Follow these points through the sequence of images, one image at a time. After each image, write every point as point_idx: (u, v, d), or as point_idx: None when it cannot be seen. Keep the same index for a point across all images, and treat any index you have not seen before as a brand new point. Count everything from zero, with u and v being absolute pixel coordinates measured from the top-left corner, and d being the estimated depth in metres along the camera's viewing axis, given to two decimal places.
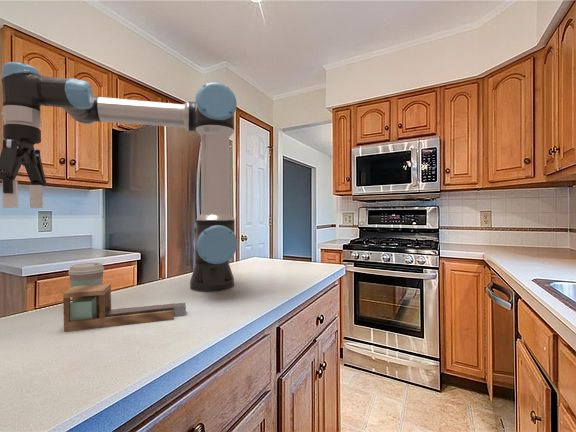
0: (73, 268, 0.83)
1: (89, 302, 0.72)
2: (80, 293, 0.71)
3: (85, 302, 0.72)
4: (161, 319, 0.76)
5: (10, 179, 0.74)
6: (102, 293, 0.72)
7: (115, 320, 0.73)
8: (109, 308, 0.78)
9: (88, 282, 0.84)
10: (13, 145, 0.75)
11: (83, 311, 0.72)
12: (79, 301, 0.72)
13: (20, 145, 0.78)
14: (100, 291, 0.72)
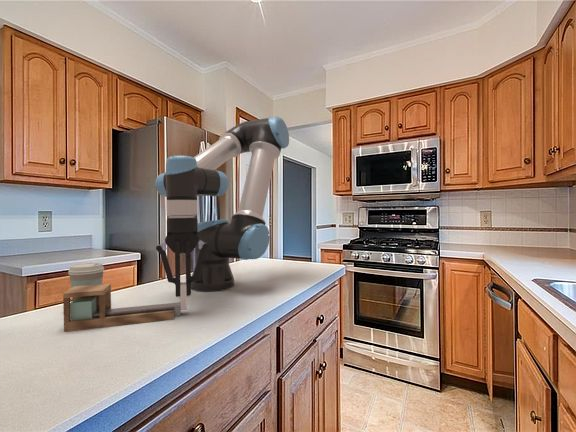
0: (73, 268, 0.83)
1: (89, 302, 0.72)
2: (80, 293, 0.71)
3: (85, 302, 0.72)
4: (161, 319, 0.76)
5: (175, 283, 0.80)
6: (102, 293, 0.72)
7: (115, 320, 0.73)
8: (109, 308, 0.78)
9: (88, 282, 0.84)
10: None
11: (83, 311, 0.72)
12: (79, 301, 0.72)
13: (167, 241, 0.78)
14: (100, 291, 0.72)
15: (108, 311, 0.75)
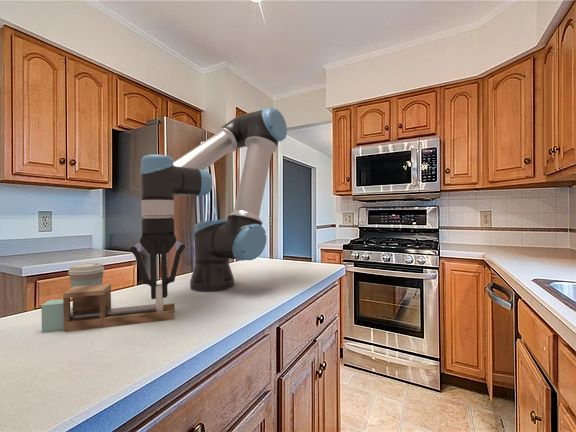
0: (73, 268, 0.83)
1: (61, 304, 0.71)
2: (80, 293, 0.71)
3: (57, 304, 0.70)
4: (161, 319, 0.76)
5: (151, 285, 0.78)
6: (102, 293, 0.72)
7: (115, 320, 0.73)
8: (109, 308, 0.78)
9: (88, 282, 0.84)
10: (133, 253, 0.76)
11: (55, 313, 0.70)
12: (51, 303, 0.71)
13: (142, 242, 0.77)
14: (100, 291, 0.72)
15: (80, 314, 0.73)
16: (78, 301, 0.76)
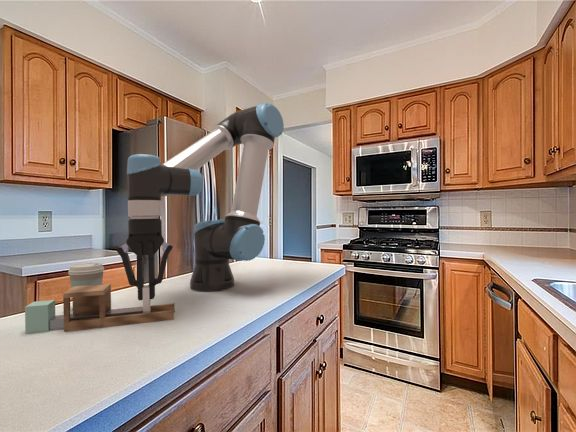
0: (73, 268, 0.83)
1: (45, 306, 0.70)
2: (80, 293, 0.71)
3: (41, 306, 0.69)
4: (161, 319, 0.76)
5: (138, 286, 0.77)
6: (102, 293, 0.72)
7: (115, 320, 0.73)
8: (109, 308, 0.78)
9: (88, 282, 0.84)
10: None
11: (39, 315, 0.69)
12: (35, 305, 0.70)
13: (128, 243, 0.76)
14: (100, 291, 0.72)
15: None
16: (78, 301, 0.76)
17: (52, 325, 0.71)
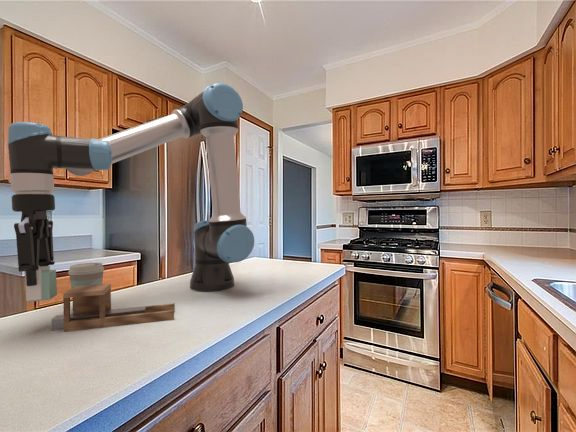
0: (73, 268, 0.83)
1: (46, 274, 0.70)
2: (80, 293, 0.71)
3: (42, 274, 0.70)
4: (161, 319, 0.76)
5: (33, 270, 0.68)
6: (102, 293, 0.72)
7: (115, 320, 0.73)
8: (109, 308, 0.78)
9: (88, 282, 0.84)
10: (27, 231, 0.65)
11: None
12: None
13: (33, 220, 0.67)
14: (100, 291, 0.72)
15: None
16: (78, 301, 0.76)
17: (54, 325, 0.71)
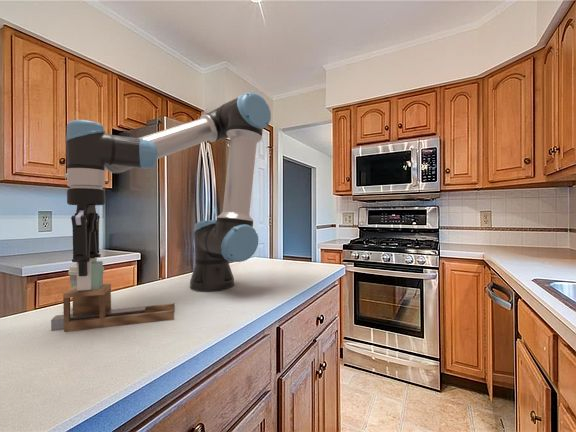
0: (73, 268, 0.83)
1: (96, 265, 0.73)
2: (80, 293, 0.71)
3: (92, 264, 0.72)
4: (161, 319, 0.76)
5: (85, 261, 0.70)
6: (102, 293, 0.72)
7: (115, 320, 0.73)
8: (109, 308, 0.78)
9: None
10: (83, 223, 0.68)
11: None
12: None
13: (87, 214, 0.71)
14: (100, 291, 0.72)
15: None
16: (78, 301, 0.76)
17: (54, 325, 0.71)
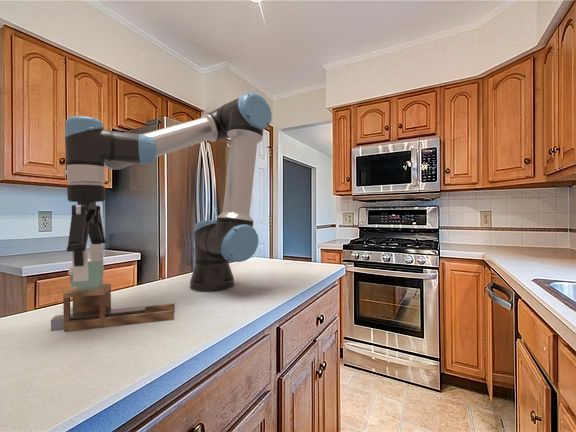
0: None
1: (96, 265, 0.73)
2: (80, 293, 0.71)
3: (92, 264, 0.72)
4: (161, 319, 0.76)
5: (81, 250, 0.67)
6: (102, 293, 0.72)
7: (115, 320, 0.73)
8: (109, 308, 0.78)
9: None
10: (83, 211, 0.68)
11: (90, 273, 0.72)
12: None
13: (87, 208, 0.71)
14: (100, 291, 0.72)
15: None
16: (78, 301, 0.76)
17: (54, 325, 0.71)
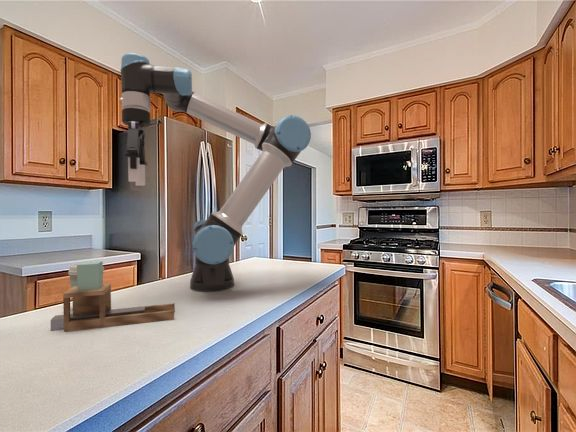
0: (73, 268, 0.83)
1: (96, 265, 0.73)
2: (80, 293, 0.71)
3: (92, 264, 0.72)
4: (161, 319, 0.76)
5: (135, 156, 0.84)
6: (102, 293, 0.72)
7: (115, 320, 0.73)
8: (109, 308, 0.78)
9: None
10: (136, 126, 0.85)
11: (90, 273, 0.72)
12: (86, 264, 0.73)
13: (138, 127, 0.88)
14: (100, 291, 0.72)
15: None
16: (78, 301, 0.76)
17: (53, 325, 0.70)
